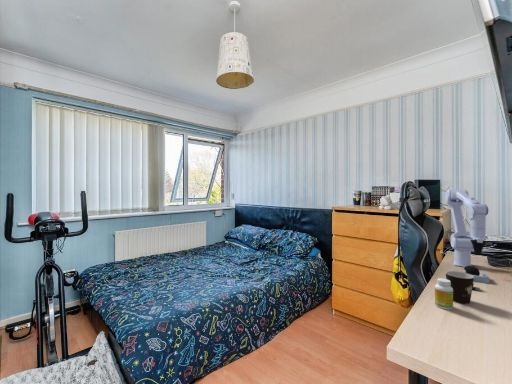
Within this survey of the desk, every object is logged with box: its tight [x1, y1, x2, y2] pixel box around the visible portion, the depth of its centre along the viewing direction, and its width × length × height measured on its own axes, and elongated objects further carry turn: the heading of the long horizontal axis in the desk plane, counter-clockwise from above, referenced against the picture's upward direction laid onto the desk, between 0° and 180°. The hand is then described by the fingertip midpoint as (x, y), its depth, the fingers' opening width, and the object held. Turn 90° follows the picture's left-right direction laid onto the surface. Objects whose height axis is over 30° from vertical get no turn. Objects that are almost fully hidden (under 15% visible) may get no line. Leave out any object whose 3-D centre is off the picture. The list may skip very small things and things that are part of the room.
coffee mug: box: [445, 270, 475, 305], centre depth 98 cm, size 12×9×10 cm
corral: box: [455, 268, 490, 284], centre depth 122 cm, size 8×11×2 cm
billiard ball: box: [462, 265, 481, 276], centre depth 122 cm, size 6×6×6 cm
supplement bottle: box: [434, 277, 454, 310], centre depth 92 cm, size 5×5×10 cm
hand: (477, 254), depth 128 cm, fingers closed
